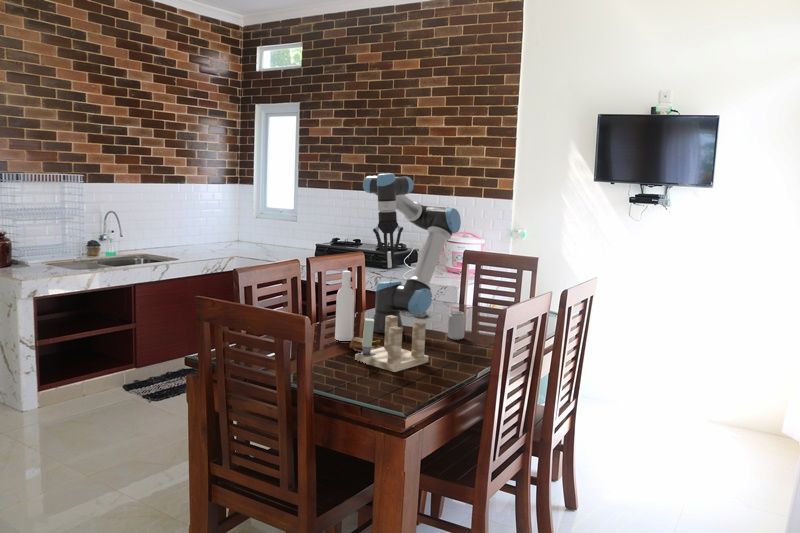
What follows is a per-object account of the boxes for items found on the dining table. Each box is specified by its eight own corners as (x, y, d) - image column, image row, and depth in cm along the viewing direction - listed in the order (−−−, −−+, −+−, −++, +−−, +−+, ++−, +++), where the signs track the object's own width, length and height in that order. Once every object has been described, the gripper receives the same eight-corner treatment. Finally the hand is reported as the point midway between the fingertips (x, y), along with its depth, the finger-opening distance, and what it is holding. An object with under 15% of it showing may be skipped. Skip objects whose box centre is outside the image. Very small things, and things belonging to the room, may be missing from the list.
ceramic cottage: (397, 309, 348) (399, 282, 345) (427, 312, 346) (430, 285, 343) (393, 317, 333) (396, 289, 330) (425, 320, 331) (427, 292, 328)
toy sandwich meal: (376, 356, 254) (376, 344, 253) (345, 351, 258) (345, 340, 258) (387, 349, 266) (387, 337, 265) (357, 345, 270) (357, 333, 269)
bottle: (330, 339, 276) (333, 270, 272) (344, 337, 281) (347, 269, 277) (343, 343, 270) (346, 273, 266) (357, 340, 276) (359, 271, 272)
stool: (354, 360, 245) (356, 320, 243) (389, 351, 261) (391, 314, 259) (394, 372, 233) (396, 330, 231) (428, 362, 248) (430, 322, 246)
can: (463, 340, 285) (464, 314, 283) (446, 339, 286) (447, 312, 285) (464, 337, 292) (466, 311, 291) (448, 335, 294) (449, 309, 292)
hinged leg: (361, 354, 243) (364, 320, 242) (361, 351, 247) (364, 318, 245) (370, 354, 244) (374, 321, 242) (370, 352, 247) (373, 319, 246)
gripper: (370, 212, 262) (373, 269, 266) (402, 211, 261) (404, 268, 266) (372, 210, 269) (375, 266, 274) (403, 209, 269) (405, 265, 273)
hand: (389, 267), depth 270 cm, fingers closed
